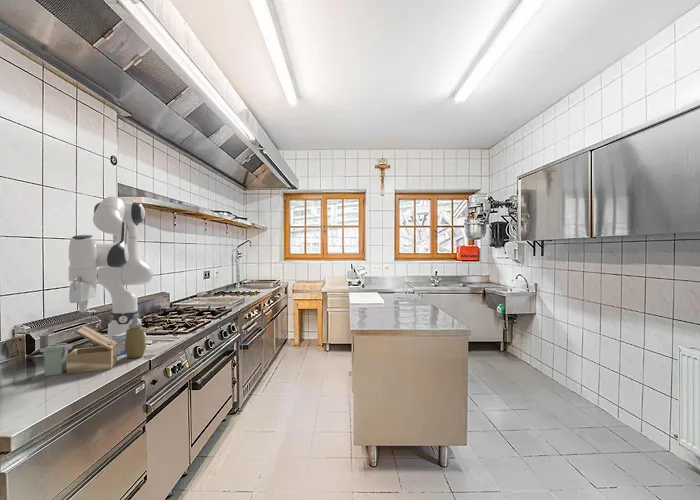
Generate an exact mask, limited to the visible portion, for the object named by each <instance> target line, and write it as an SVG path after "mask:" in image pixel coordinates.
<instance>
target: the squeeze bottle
mask: <svg viewBox="0 0 700 500" xmlns="http://www.w3.org/2000/svg"><path fill="white" fill-rule="evenodd" d="M138 318H139V317H138ZM138 318H137V315H134V316H133V320H132V323H131V324H129V328H130V329H128V330H127V331H126V340H125V349H124V350H125V352H126V357H127V358H128V359H137V358H141V357H143V356H144V354H145V351H146V348H147V344H146V342H147V341H146V337H145V334H146V333H145V334H144V331H145V328H144V327H143V326H142V322H141V323H139V322H138Z"/></svg>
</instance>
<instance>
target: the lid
mask: <svg viewBox="0 0 700 500" xmlns="http://www.w3.org/2000/svg"><path fill="white" fill-rule="evenodd" d="M74 334H76V335H79V336H81V337H82V338H85V339H87V341H88V340H89V341H90V342H92V343H95V344H97V345H99V346H103V347H105V348H107V349H109V350H112V349H113V348H114V347H115V345H116V344H117V343H118V342H116V341H114V340H112V339H110V338H108V336H105V335H103V334H102V333H100V332H98V331H95V330H94V329H92V328H90V327H88V326H86V325H83V326H82V327H80V328H78V329H77V330H76V331H75V332H74Z"/></svg>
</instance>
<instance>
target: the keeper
mask: <svg viewBox="0 0 700 500" xmlns="http://www.w3.org/2000/svg"><path fill="white" fill-rule="evenodd" d="M67 344H68V343H67V342H64V343H53V344H50V345H49V346H54V347H46V352H44V376H45V377H48V376H55V375H57V376H58V375H62V374H64V373H65V372H66V371H67V355H68V354H69V350H63V346H56V345H67Z"/></svg>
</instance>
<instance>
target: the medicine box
mask: <svg viewBox="0 0 700 500" xmlns="http://www.w3.org/2000/svg"><path fill="white" fill-rule="evenodd" d="M112 340H114V341H116V342H118V343H117V344H116V345H117V356H122V355H125V354H126V352H125V350H124V349H125V340H126V332H124V333H121V334H117V335H114V336H112Z"/></svg>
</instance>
